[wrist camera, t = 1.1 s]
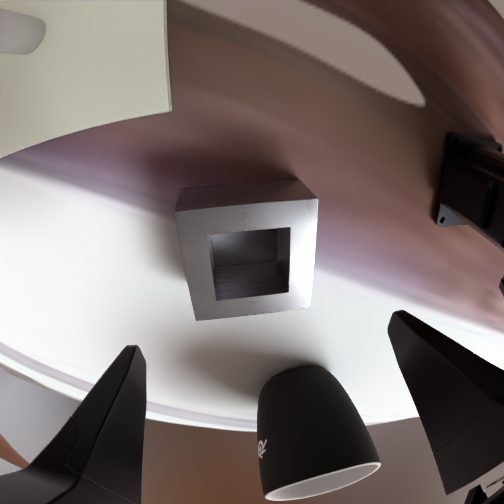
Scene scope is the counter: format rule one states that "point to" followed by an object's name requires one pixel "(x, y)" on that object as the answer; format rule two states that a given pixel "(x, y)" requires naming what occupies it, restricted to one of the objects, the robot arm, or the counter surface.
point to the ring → (255, 274)
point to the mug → (310, 436)
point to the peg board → (79, 66)
